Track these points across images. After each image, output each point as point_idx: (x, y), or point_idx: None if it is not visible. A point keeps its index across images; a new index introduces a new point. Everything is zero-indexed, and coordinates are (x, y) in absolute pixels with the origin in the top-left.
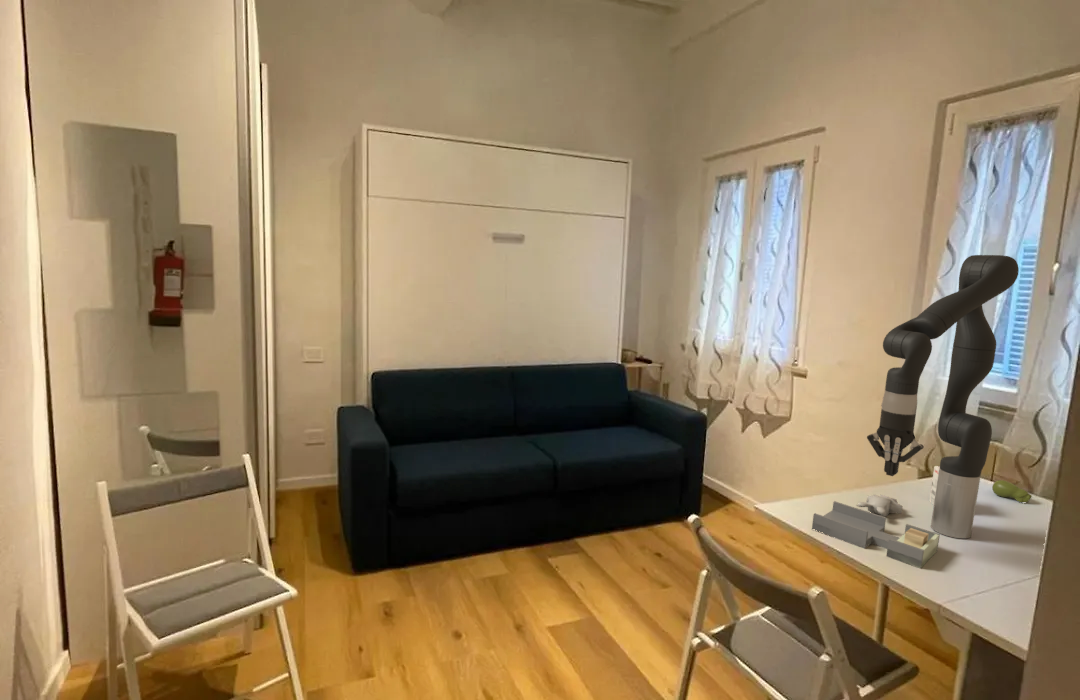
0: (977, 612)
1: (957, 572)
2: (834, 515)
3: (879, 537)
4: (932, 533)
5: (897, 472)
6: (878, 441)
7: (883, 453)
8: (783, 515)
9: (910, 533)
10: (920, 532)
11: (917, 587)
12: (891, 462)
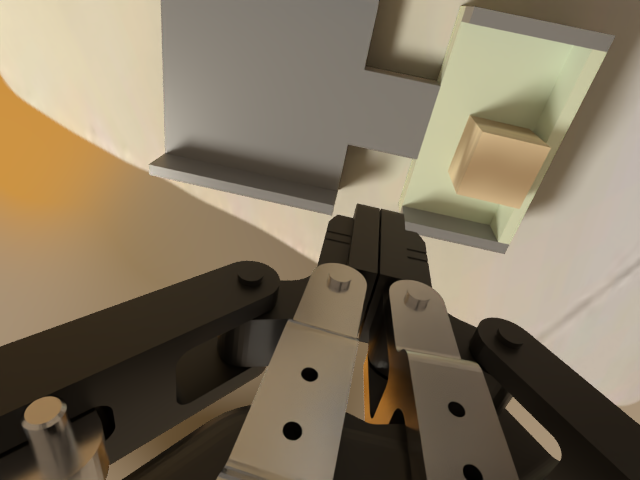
0: (585, 358)
1: (603, 181)
2: (189, 27)
3: (370, 139)
4: (580, 45)
5: (421, 240)
6: (107, 377)
7: (267, 361)
8: (63, 97)
9: (474, 193)
10: (517, 156)
11: (469, 323)
12: (364, 341)
